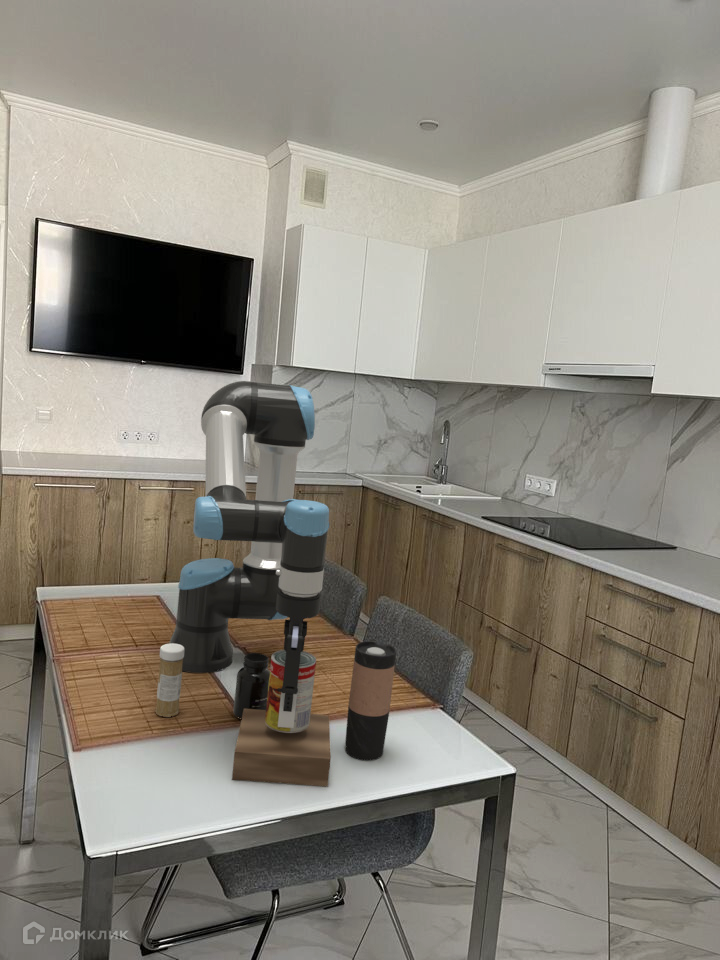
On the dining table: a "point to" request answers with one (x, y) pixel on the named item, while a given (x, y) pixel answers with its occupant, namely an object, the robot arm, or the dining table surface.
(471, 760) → the dining table surface
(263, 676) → the supplement bottle
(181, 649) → the sprinkles bottle
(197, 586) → the robot arm
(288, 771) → the walnut riser
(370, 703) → the travel mug
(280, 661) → the canned food
